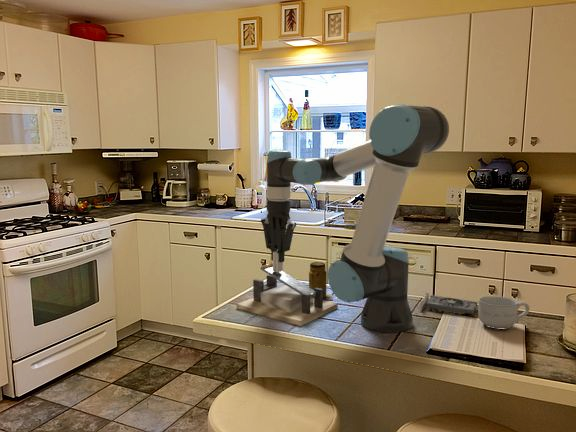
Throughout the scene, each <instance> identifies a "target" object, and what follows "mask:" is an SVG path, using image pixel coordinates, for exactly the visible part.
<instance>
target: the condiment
mask: <svg viewBox="0 0 576 432" xmlns="http://www.w3.org/2000/svg"><path fill="white" fill-rule="evenodd" d="M309 267H310V268H309V271H308V287H309V288H311V289H313V290H314V289H315V288H320V289H323V300H324V301H329V300H331V301H332V300H333V293H327V275H328V272H327V271H326V264H325V262H321V261H313V262H310V263H309ZM313 298H314V297H313Z"/></svg>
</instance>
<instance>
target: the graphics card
mask: <svg viewBox="0 0 576 432" xmlns="http://www.w3.org/2000/svg"><path fill="white" fill-rule="evenodd" d="M419 306H420V310H419V312H420V313H421V312H422V311H425V310H426V309H427V308H428V309H427V311H429V310H432V309H433V310H432V312H441V311H448V312H455V313H459V314H458V315H461V314H464V315H465V314H470V315H472V314H475V311H476V310H477V307H478V302H477V301H473V300H469V299H468V300H467V299H460V298H452V297H446V296H440V295H434V294H433V295H430V293H429V292H425V296H424V298H422V300H421V302H420V305H419ZM425 308H426V309H425ZM421 310H422V311H421ZM437 310H438V311H437ZM448 312H447V313H448Z"/></svg>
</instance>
